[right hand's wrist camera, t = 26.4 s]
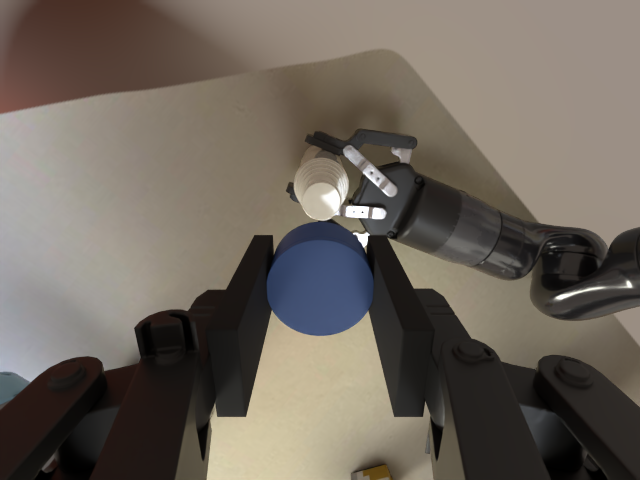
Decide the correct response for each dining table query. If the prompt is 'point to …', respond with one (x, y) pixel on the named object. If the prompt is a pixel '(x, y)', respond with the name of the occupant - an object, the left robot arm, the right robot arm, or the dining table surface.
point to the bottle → (321, 183)
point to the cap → (320, 279)
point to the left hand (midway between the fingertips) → (297, 163)
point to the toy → (373, 474)
